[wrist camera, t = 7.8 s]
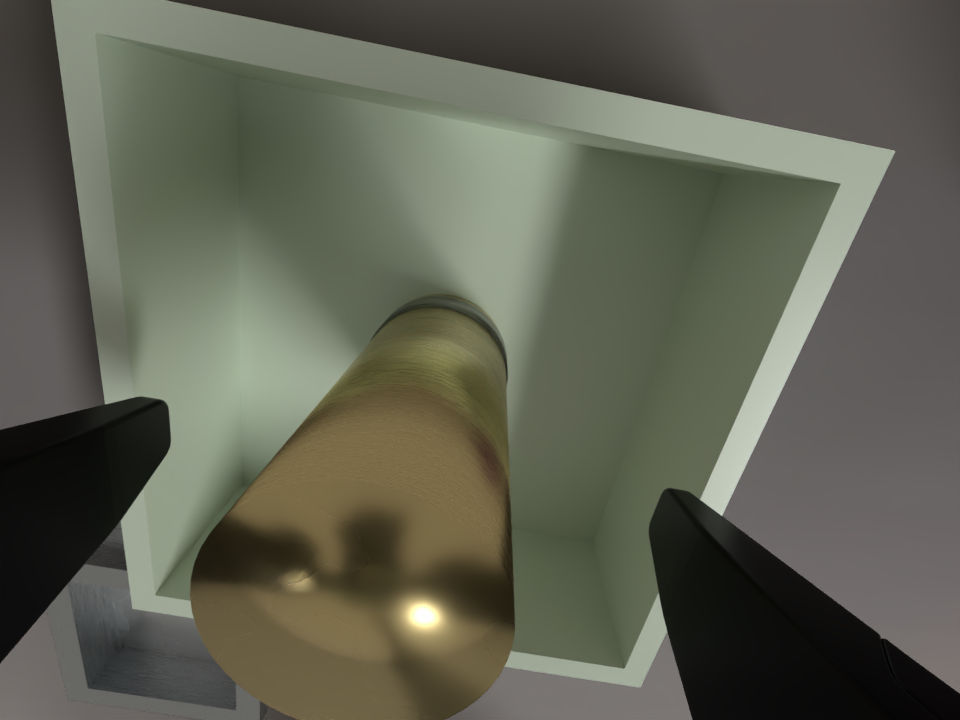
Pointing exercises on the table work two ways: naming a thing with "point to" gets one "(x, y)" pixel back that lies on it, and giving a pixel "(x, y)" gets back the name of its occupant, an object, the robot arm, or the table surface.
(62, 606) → the socket block
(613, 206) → the bin
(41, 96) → the table surface
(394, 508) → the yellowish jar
